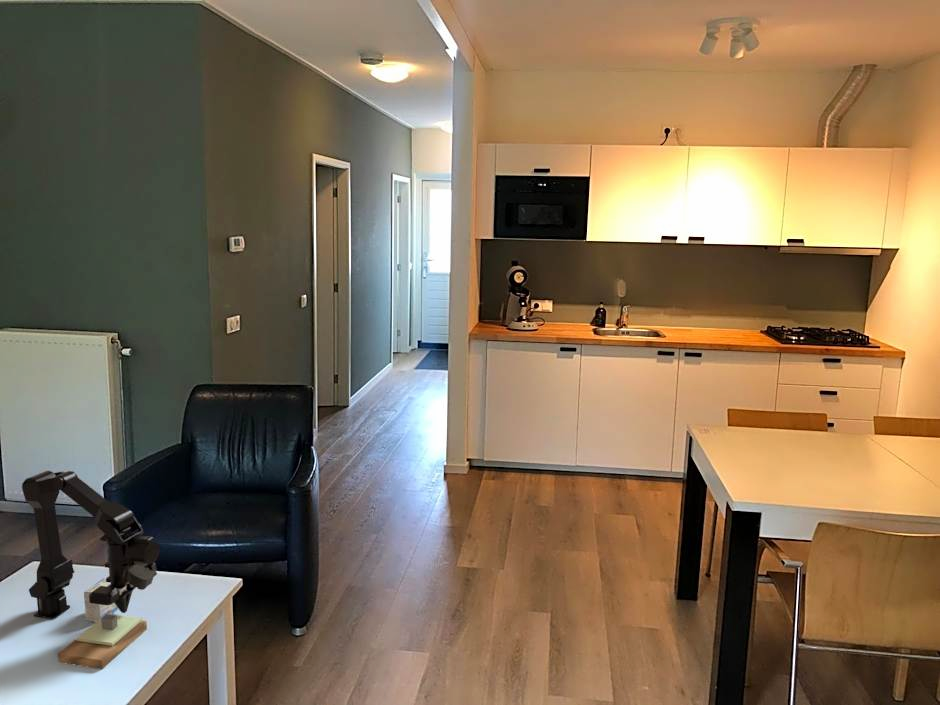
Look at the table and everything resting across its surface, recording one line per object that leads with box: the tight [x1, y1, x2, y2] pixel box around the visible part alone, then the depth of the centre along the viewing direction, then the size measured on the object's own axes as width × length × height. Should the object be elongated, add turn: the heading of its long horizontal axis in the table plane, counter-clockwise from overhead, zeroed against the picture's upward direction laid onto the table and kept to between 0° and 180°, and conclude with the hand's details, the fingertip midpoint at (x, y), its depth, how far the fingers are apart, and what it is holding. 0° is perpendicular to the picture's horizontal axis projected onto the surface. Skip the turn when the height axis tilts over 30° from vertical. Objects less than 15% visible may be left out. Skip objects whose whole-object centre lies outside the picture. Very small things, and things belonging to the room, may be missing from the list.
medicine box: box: [83, 578, 119, 623], centre depth 206 cm, size 8×4×9 cm, turn 168°
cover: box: [76, 613, 143, 646], centre depth 194 cm, size 10×12×4 cm
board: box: [57, 620, 148, 670], centre depth 192 cm, size 12×18×2 cm, turn 169°
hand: (124, 612), depth 200 cm, fingers closed
